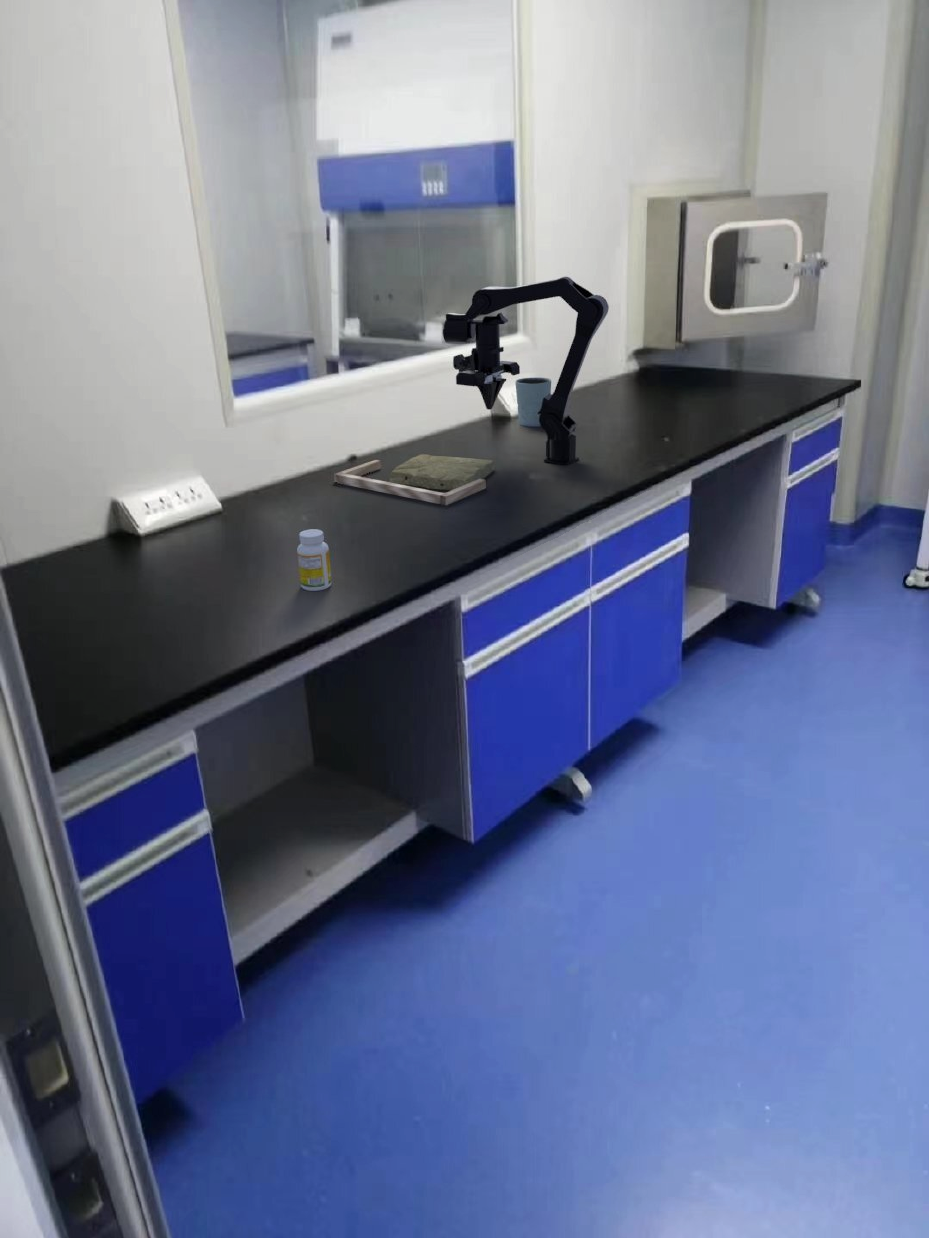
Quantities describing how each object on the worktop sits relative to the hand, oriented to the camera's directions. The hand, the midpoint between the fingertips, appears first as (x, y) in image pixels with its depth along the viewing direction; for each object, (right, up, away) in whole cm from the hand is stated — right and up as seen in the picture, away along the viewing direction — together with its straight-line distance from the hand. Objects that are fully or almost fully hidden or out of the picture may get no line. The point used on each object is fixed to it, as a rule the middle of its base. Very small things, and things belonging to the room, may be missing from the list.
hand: (489, 409), depth 229 cm
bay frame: (-19, -21, -15) cm, 32 cm away
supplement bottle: (-32, -46, -67) cm, 87 cm away
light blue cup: (+14, +4, +37) cm, 40 cm away
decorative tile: (-11, -19, -9) cm, 24 cm away
